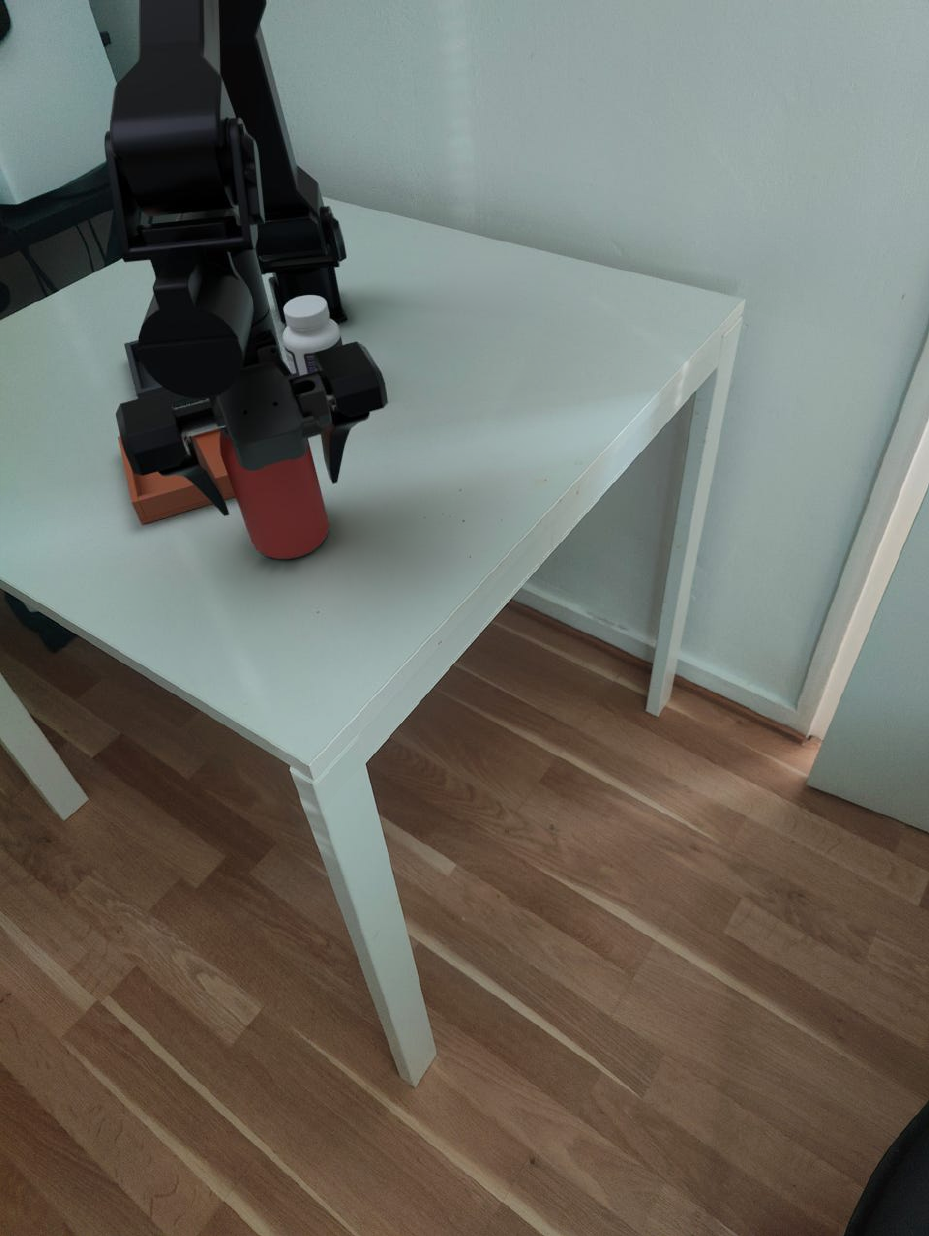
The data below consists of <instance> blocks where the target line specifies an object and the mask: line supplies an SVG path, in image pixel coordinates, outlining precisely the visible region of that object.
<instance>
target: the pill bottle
mask: <svg viewBox="0 0 929 1236" xmlns="http://www.w3.org/2000/svg"><path fill="white" fill-rule="evenodd" d="M284 315H285V319H286V323H287V326H286V327H285V328H284V331H283V333H282V343H283V347H284V351H285V355H286V359H287V363H288V368H289V369H290V372H291V374H295V373H297V375H298V376H300V375H304V374H308V373H311V372H314V371H315V370H316V368H315V363H314V359H313V356H314V352H318V351H321V350H325V349H329V348H333V347H337V346H340V345H344V344H343V338H342V333H341V329H340V326H339V325H338V323H336V322H335V321H333V320H332V319H330V318H329V317H330V316H329V310H328V305H327V302H326V300H325V299H324V298H322V297H320V296H316V295H305V296H300V297H296V298H294V299H292V300H290V301H289V302H287V303H286V304H285V306H284Z"/></svg>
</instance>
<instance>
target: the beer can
mask: <svg viewBox="0 0 929 1236" xmlns="http://www.w3.org/2000/svg"><path fill="white" fill-rule="evenodd" d="M219 430H220V435H219V442H220V454H221V457H222V460H223V463H224V465H225V468H226V471H227V474H228V477H229V480H230V483H231V485H232V488H233V491H234V494H235V497H234V498H235V500H236V503H237V506H238V508H239V512H240V514H241V517H242V519H243V523H244V526H245V528H246V531H247V534H248V536H249V540H250V543H251V544H252V545H253V547H254V549H255V550H256V551H257V552H259V553H260V554H262V555H264V556H265V557H269V558H272V559H277V560H292V559H296V558H300V557H304V556H305V555H308V554H309V553H310V554H311V553H312V552H313V551H314V550H316V549H317V548H318V547H319V546H321V545H322V543H323V542H324V541H325V539H326V538H327V536H328V533H329V529H330V522H329V517H328V512H327V509H326V505H325V501H324V497H323V493H322V489H321V485H320V482H319V476H318V473H317V469H316V465H315V462H314V461H315V460H314V456H313V452H312V449H311V445H310V441H309V438H307V442H308V450H307V452H306V454H305V455H304V456H302V457H300V458H298V459H294V460H290V459H288V460H285V461H281V462H278V463H274V464H271V465H267V466H265V467H264V468H263V469H260V470H256V471H248V470H245V469H243V468H242V467H241V466H240V465H239V463H238V460H237V457H236V454H235V451H234V448H233V445H232V443H231V440H230V437H229V434H228V431H227V428H226V427H223V428H219Z"/></svg>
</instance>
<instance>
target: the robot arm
mask: <svg viewBox="0 0 929 1236" xmlns="http://www.w3.org/2000/svg"><path fill="white" fill-rule="evenodd" d="M267 4H268V3H267V0H138V52H137V53H138V54H137V61H136V63H135V64H134V65H133V66H132V67H131V68H130V69H129V70H128V71H127V72H126V74H124V75H123V76H122V78H121V79H119V81H118V82H117V83H116V85H115V86H114V89H113V97H112V104H111V111H110V120H109V130H107V131H106V132H105V135H104V142H103V144H104V145H103V147H104V155H105V162H106V168H107V173H108V180H109V186H110V193H111V198H112V205H113V211H114V212H113V213H114V218H115V219H114V220H115V224H116V231H117V237H118V244H119V249H120V255H121V258H122V261H123V262H124V263H133V262H134V263H135V262H144V261H149V262H150V264H151V267H152V270H153V274H154V277H155V280H154V282H153V285H152V293H153V295H152V298H151V301H150V302H149V306H148V308H147V311H146V313H145V316H144V319H143V322H142V324H141V327H140V331H139V334H138V337H137V338H138V339H137V340H138V348H139V350H138V353H139V357H140V360H141V362H142V364H143V366H144V367H145V369H146V371H147V372H148V373H149V375H150V376H151V377H152V378H153V379H154V380H155V381H156V382H157V383H159V384H160V385H161V386H162V387H164V388H165V389H167V390H169V391H171V392H173V393H175V394H177V395H181V396H184V397H188V398H197V399H202V400H205V401H201V402H198V403H193V404H191V405H186V406H183V407H179V408H175V407H173V404H172V401H171V399H170V396H169V394H168V392H167V391H166V392H162V393H158V394H154V395H151V396H147V397H143V398H139V399H138V398H135V399H132V400H128V401H124V402H121V403H119V405H118V408H117V410H116V412H115V418H116V423H117V428H118V432H119V436H120V438H121V443H122V446H123V449H124V452H125V454H126V457H127V459H128V461H129V464H130V466H131V468H132V470H133V473H134V474H137V475H142V476H144V475H148V474H151V473H155V472H158V473H159V474H160V475H161V476H164V477H168V476H171V475H179V476H183V477H185V478H186V479H188V480H189V481H190V482H191V483H193V484H194V485H195V486H196V487H197V488H198V489H199V490H200V491H201V492H202V493H203V494H204V495H205V496H206V497H207V498H208V499H209V500H210V501H211V502H212V503H213V504H212V505H213V506H214V507H215V508H216V509H217V510H218V511H219V512H220V513H221V514H222V515H223V516H224V517H226V516H229V515H230V512H229V508H228V505H227V502H226V500H224V497H223V494H222V491H221V489H220V487H219V485H218V483H217V481H216V479H215V477H214V475H213V473H212V471H211V469H210V467H209V465H208V463H207V461H206V459H205V457H204V455H203V453H202V451H201V449H200V447H199V445H198V443H197V441H196V439H195V437H194V435H198V434H201V433H205V432H209V431H212V430H216V429H219V428H223V427H226V428H227V431H228V434H229V437H230V440H231V443H232V445H233V448H234V451H235V454H236V457H237V460H238V463H239V465H240V466H241V467H242V468H243V469H245V470H248V471H256V470H260V469H263V468H264V467H265V466H267V465H271V464H274V463H278V462H281V461H285V460H288V459H290V460H294V459H298V458H300V457H302V456H304V455H305V454H306V452H307V450H308V442H307V438H308V439H311V438H313V437H316V436H320V440H321V446H322V447H321V448H322V454H323V460H324V463H325V467H326V471H327V474H328V477H329V480H330V482H331V484H333V485H334V484H338V481H339V476H340V472H341V465H342V461H343V456H344V451H345V447H346V443H347V440H348V437H349V434H350V432H351V430H352V429H353V428H354V427H355V426H356V425H358V424H359V423H362V422H366V421H367V420H368V419H369V418H370V414H371V412H375V411H378V410H382V409H384V408H385V407H386V406H387V404H388V403H389V398H388V393H387V388H386V386H387V385H386V381H385V379H384V376H383V373H382V371H381V369H380V368H379V366H378V364H377V363H376V362H375V361H376V360H374V358H373V356H372V354H371V353H370V351H369V350H368V348H367V347H366V346H364V345H363V344H362V343H360V342H359V341H358V340H355V341H352V342H348V343H345V344H343V345H340V346H337V347H333V348H329V349H325V350H321V351H318V352H314V356H313V359H314V363H315V368H316V370H315V371H314V372H311V373H308V374H304V375H300V376H298V375H297V373H295V374H291V371H290V367H289V365H287V364H286V362H285V360H284V358H283V354H282V351H281V347H280V343H279V339H278V335H277V331H276V326H275V322H274V318H273V314H272V310H271V307H270V302H269V298H268V295H267V291H266V287H265V286H266V285H265V283H264V279H263V275H267V274H272V276H270V277H268V285H269V289H270V293H271V297H272V300H273V304H274V305H273V306H274V309H275V312H276V315H277V317H278V318H279V320H280V323H282V324H285V326H286V327H287V323H286V319H285V315H284V306H285V304H286V303H287V302H289V301H290V300H292V299H294V298H296V297H300V296H305V295H316V296H320V297H322V298H324V299H325V300H326V302H327V305H328V310H329V316H330V317H329V318H330V319H332V320H333V321H335V322H336V323H337V324H339V323H343V322H346V321H347V320H348V314H347V313H346V311H345V309H344V307H343V305H342V300H341V295H340V294H341V293H340V289H339V284H338V279H337V273H336V268H340V265H341V262H343V261H344V260H346V259H347V258H348V257H347V256H348V254H347V250H346V243H345V239H344V234H343V231H342V228H341V225H340V221H339V220H338V219H337V218H336V217H335V215H334V213H333V211H332V208H331V206H330V205H325V203H324V200H323V196H322V192H321V188H320V185H319V182H318V181H317V180H316V179H315V178H314V177H312V176H311V175H310V174H309V173H307V172H306V171H305V170H304V169H302V168H301V167H300V166H299V165H298V163H297V160H296V157H295V153H294V152H295V151H294V148H293V145H292V140H291V138H290V137H291V136H290V133H289V129H288V126H287V122H286V118H285V113H284V111H283V110H284V109H283V106H282V103H281V99H280V95H279V91H278V87H277V83H276V79H275V76H274V72H273V68H272V65H271V60H270V56H269V52H268V48H267V44H266V41H265V38H264V37H265V36H264V34H263V29H262V26H261V22H262V20H263V18H264V17H263V16H264V15H265V11H266V9H267V8H266V7H267ZM140 210H141V211H142V213H143V214H144V215H146V216H147V217H158V216H171V215H178V216H177V218H176V219H175V221H173V220H172V221H164V222H155V223H154V222H153V223H145V224H144V223H143V224H140ZM206 399H208V400H206Z"/></svg>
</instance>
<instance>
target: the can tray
mask: <svg viewBox="0 0 929 1236" xmlns="http://www.w3.org/2000/svg"><path fill="white" fill-rule="evenodd" d="M123 346H124V350H125V355H126V357H127V362H128V366H129V370H130V375H131V378H132V382H133V385H134V390H135V394H136V397H137V399H139V398H143V397H147V396H151V395H154V394H158V393H162V392H166V391H167V392H168V394H169V396H170V399H171V401H172V404H173V407H174V408H177V407H180V406H184V405H187V404H188V405H189V404H191V403H194V402H199V401H203V399H197V398H188V397H184V396H181V395H177V394H175V393H173V392H171V391H169V390H167V389H165V388H164V387H162V386H161V385H160V384H159V383H157V382H156V381H155V380H154V379H153V378H152V377H151V376H150V375H149V373H148V372H147V371H146V369H145V367H144V366H143V364H142V362H141V360H140V357H139V353H138V350H139V348H138V339H136V340H132V341H128V342H125V343H123Z"/></svg>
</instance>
